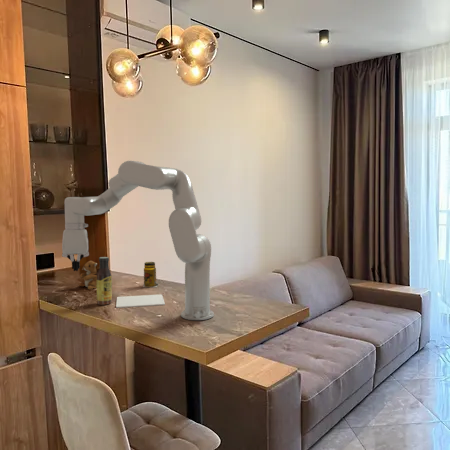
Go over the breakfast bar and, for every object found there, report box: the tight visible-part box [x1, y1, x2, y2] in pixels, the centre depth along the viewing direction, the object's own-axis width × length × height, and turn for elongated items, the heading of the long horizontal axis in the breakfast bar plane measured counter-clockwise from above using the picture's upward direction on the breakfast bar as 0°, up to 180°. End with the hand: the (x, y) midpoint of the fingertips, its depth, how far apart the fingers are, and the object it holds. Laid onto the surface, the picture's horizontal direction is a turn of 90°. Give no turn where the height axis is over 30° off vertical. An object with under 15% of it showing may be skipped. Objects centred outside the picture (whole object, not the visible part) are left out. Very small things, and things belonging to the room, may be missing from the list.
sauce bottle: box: [96, 256, 113, 306], centre depth 180 cm, size 7×6×20 cm
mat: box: [115, 293, 166, 309], centre depth 184 cm, size 16×20×1 cm
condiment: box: [142, 261, 160, 288], centre depth 213 cm, size 7×8×12 cm
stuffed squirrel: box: [78, 260, 100, 290], centre depth 212 cm, size 10×14×13 cm
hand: (76, 270), depth 177 cm, fingers closed
